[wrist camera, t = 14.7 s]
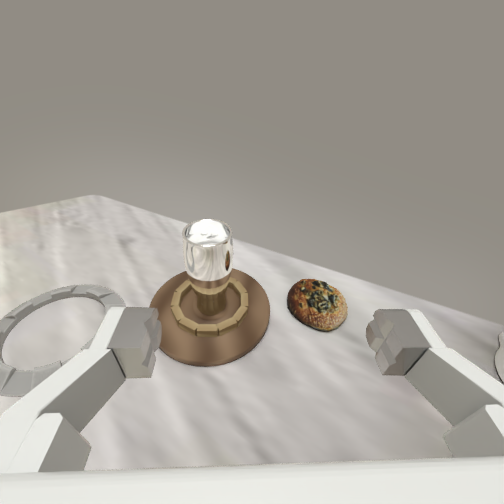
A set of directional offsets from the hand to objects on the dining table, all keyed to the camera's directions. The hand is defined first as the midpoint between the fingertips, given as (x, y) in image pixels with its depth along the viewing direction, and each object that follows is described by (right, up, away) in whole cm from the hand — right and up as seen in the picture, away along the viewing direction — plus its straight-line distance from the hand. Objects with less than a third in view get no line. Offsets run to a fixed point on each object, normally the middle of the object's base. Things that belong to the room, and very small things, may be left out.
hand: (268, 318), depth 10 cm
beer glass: (-7, -7, +34) cm, 35 cm away
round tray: (-8, -8, +35) cm, 37 cm away
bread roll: (+11, -8, +38) cm, 40 cm away
